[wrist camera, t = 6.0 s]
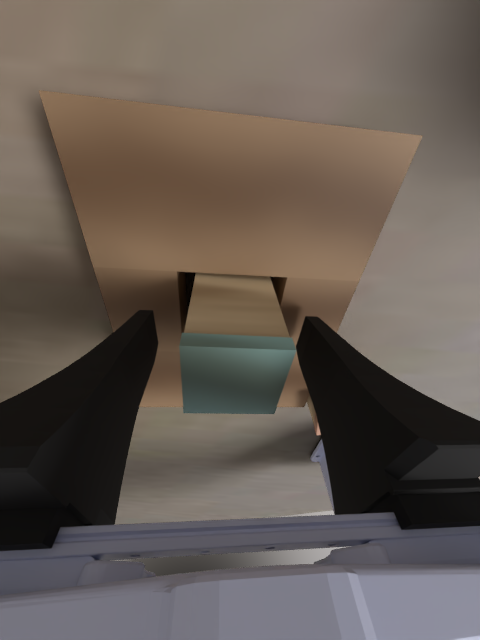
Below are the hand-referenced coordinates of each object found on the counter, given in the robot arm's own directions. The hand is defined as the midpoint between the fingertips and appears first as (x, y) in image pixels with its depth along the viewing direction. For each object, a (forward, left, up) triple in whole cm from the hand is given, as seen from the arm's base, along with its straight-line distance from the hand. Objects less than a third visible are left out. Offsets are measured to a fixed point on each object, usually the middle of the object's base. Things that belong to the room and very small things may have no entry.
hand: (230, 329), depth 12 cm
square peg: (0, 0, -3) cm, 3 cm away
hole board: (0, 0, -3) cm, 3 cm away
